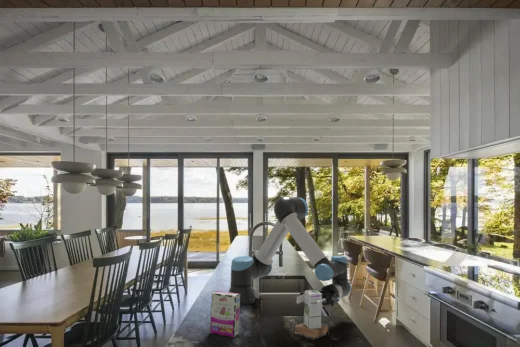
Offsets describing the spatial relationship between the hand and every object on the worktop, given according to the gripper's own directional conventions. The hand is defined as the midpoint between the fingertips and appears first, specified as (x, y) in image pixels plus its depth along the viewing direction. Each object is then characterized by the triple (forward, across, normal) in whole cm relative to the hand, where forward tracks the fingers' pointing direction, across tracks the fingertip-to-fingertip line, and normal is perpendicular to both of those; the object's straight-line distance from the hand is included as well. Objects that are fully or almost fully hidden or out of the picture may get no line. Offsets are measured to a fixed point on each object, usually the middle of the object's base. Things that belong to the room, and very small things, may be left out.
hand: (307, 302), depth 151 cm
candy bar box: (+20, +27, -14) cm, 37 cm away
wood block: (-5, 0, -15) cm, 16 cm away
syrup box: (-5, 0, -11) cm, 12 cm away
